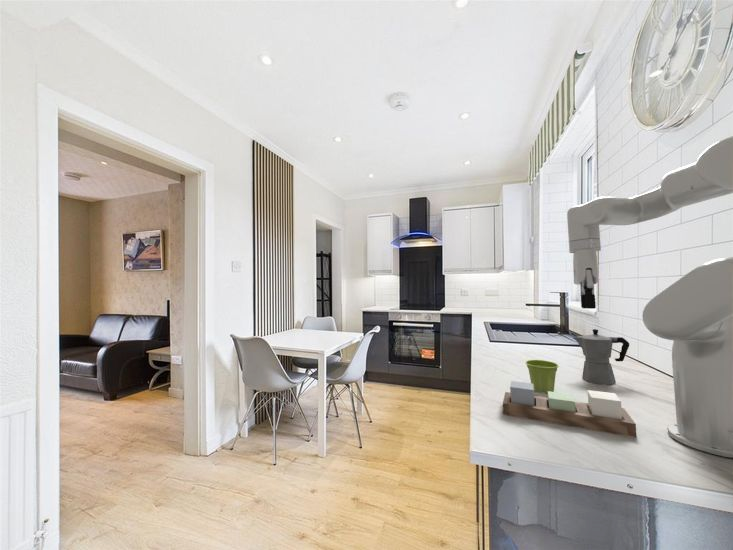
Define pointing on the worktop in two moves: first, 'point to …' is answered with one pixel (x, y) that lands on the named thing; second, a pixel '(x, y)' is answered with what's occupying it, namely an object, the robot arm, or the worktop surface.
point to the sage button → (561, 401)
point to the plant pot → (542, 374)
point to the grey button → (522, 393)
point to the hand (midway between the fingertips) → (588, 308)
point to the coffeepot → (599, 356)
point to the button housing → (570, 416)
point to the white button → (604, 404)
